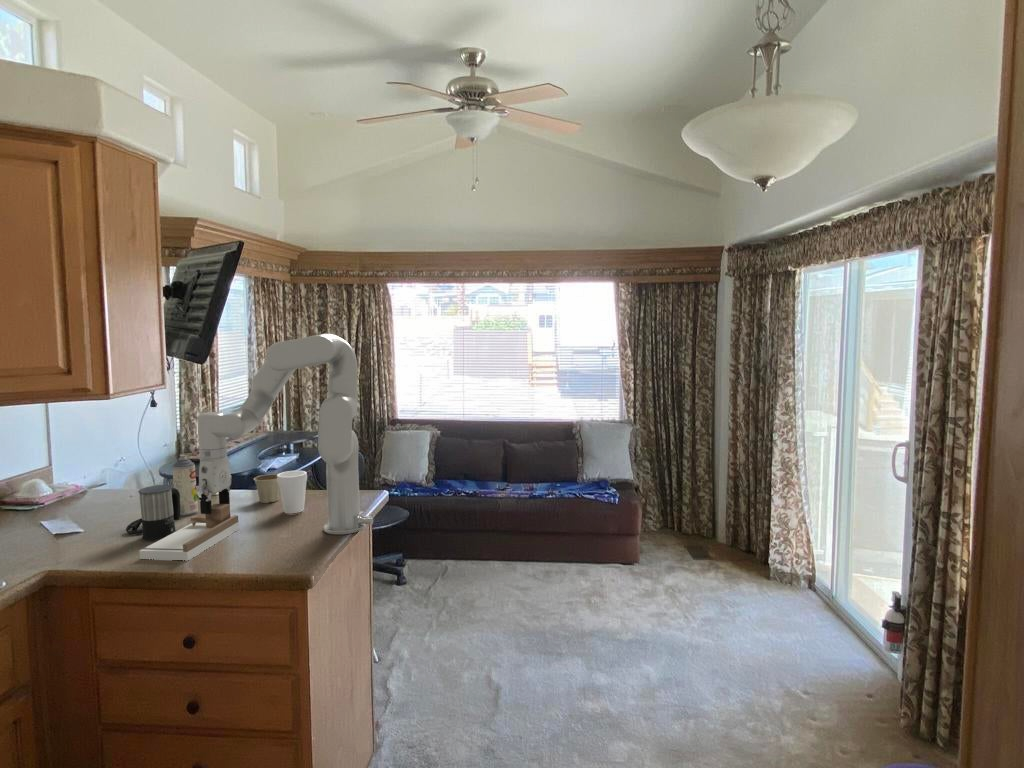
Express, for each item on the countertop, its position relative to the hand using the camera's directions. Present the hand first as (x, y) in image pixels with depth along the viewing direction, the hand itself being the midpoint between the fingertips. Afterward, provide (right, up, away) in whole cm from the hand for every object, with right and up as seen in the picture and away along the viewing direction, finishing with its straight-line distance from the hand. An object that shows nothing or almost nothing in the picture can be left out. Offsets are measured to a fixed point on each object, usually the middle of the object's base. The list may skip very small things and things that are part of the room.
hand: (215, 508), depth 198 cm
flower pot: (+3, -4, +36) cm, 36 cm away
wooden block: (-2, -5, +1) cm, 6 cm away
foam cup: (+17, -5, +22) cm, 28 cm away
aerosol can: (-20, -6, +22) cm, 30 cm away
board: (-3, -9, -8) cm, 12 cm away
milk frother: (-20, -8, +1) cm, 22 cm away
